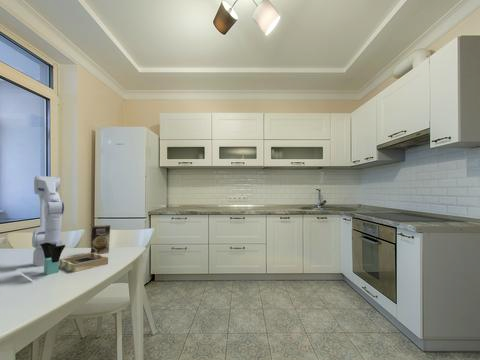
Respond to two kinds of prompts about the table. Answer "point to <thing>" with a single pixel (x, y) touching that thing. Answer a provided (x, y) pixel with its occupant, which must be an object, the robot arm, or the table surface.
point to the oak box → (85, 265)
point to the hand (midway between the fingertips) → (51, 260)
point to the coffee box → (100, 239)
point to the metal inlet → (82, 260)
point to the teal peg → (50, 266)
